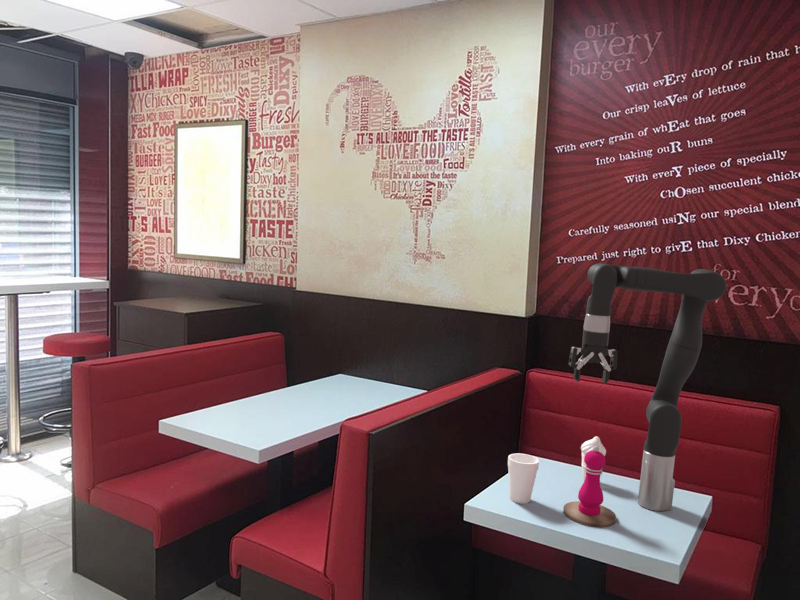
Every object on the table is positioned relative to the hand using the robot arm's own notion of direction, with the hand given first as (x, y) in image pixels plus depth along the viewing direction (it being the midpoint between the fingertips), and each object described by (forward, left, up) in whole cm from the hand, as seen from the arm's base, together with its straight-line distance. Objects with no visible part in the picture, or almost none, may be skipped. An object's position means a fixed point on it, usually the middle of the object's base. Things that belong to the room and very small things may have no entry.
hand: (590, 381), depth 205 cm
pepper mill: (0, +10, -37) cm, 38 cm away
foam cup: (+19, 0, -38) cm, 43 cm away
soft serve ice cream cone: (-10, -18, -38) cm, 43 cm away
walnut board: (0, +10, -38) cm, 39 cm away
